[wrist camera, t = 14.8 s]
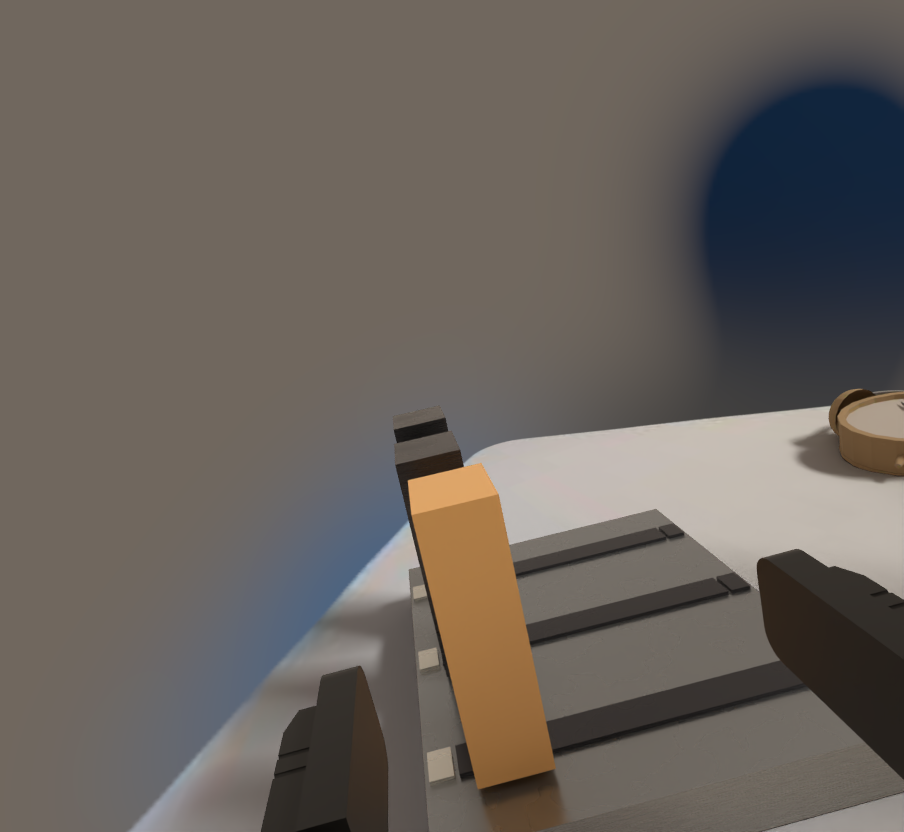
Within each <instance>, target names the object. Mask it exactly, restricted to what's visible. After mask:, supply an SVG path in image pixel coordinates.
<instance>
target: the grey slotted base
mask: <svg viewBox="0 0 904 832" xmlns="http://www.w3.org/2000/svg"><path fill="white" fill-rule="evenodd" d="M393 424H394V433H395V437H396V441H397V444H395V445H394V446H395V465H396V469H397V474H398V478H399V482H400V486H401V490H402V494H403V498H404V502H405V507H406V510H407V515H408V519H409V523H410V527H411V531H412V536H413V540H414V544H415V548H416V552H417V556H418V560H419V564H420V567H418V568H413V569H409V580H410V593H411V606H412V619H413V632H414V645H415V659H416V672H417V685H418V698H419V711H420V724H421V737H422V750H423V764H424V777H425V790H426V803H427V816H428V829H429V832H760V831H764V830H767V829H771V828H775V827H778V826H782V825H785V824H789V823H793V822H796V821H800V820H803V819H807V818H811V817H814V816H818V815H821V814H825V813H829V812H832V811H836V810H840V809H843V808H847V807H850V806H854V805H858V804H861V803H865V802H868V801H872V800H876V799H879V798H883V797H886V796H890V795H894V794H897V793H901V792H904V780H903V779H902V778H901V777H900V776H899V775H898V774H897V773H896V772H895V771H894V770H893V769H892V768H891V767H890V766H889V765H888V764H887V763H886V762H885V761H884V760H883V759H882V758H881V757H880V756H878V755H877V754H876V753H875V752H874V751H873V750H872V749H871V748H870V747H869V746H868V745H867V744H866V743H865V742H864V741H863V740H862V739H861V738H860V737H859V736H858V735H857V734H856V733H855V732H854V731H853V730H852V729H851V728H850V727H849V726H847V725H846V724H845V723H844V722H843V721H842V720H841V719H840V718H839V717H838V716H837V715H836V714H835V713H834V712H833V711H832V710H831V709H830V708H829V707H828V706H827V705H826V704H825V703H824V702H823V701H822V700H821V699H820V698H819V697H817V696H816V695H815V694H814V693H813V692H812V691H811V690H810V689H809V688H808V687H807V686H806V685H805V684H804V683H803V682H802V681H801V680H800V679H799V678H798V677H797V676H796V675H795V674H794V673H793V672H792V671H791V670H790V669H789V668H788V667H786V666H785V665H784V664H783V663H782V662H781V661H780V659H779V658H778V657H777V656H776V654H775V653H774V651H773V649H772V647H771V645H770V643H769V641H768V639H767V636H766V632H765V628H764V621H763V613H762V606H761V598H760V592H759V591H757V590H756V589H755V588H754V587H752V586H751V585H750V584H749V583H747V582H746V581H745V580H744V579H743V578H741V577H740V576H739V575H738V574H736V573H735V572H734V571H733V570H731V569H730V568H729V567H728V566H726V565H725V564H724V563H723V562H721V561H720V560H719V559H718V558H716V557H715V556H714V555H713V554H711V553H710V552H709V551H708V550H706V549H705V548H704V547H703V546H701V545H700V544H699V543H698V542H696V541H695V540H694V539H693V538H691V537H690V536H689V535H688V534H686V533H685V532H684V531H683V530H681V529H680V528H679V527H678V526H676V525H675V524H674V523H673V522H672V521H670V520H669V519H668V518H667V517H665V516H664V515H663V514H662V513H660V512H659V511H658V510H657V509H654V510H650V511H646V512H642V513H638V514H634V515H630V516H626V517H622V518H618V519H614V520H610V521H605V522H601V523H597V524H593V525H589V526H585V527H581V528H577V529H573V530H569V531H565V532H561V533H556V534H552V535H548V536H544V537H540V538H536V539H532V540H528V541H524V542H520V543H516V544H511V545H509V547H510V552H511V556H512V561H513V566H514V571H515V575H516V580H517V585H518V590H519V595H520V599H521V604H522V609H523V614H524V618H525V623H526V628H527V633H528V638H529V642H530V647H531V652H532V657H533V661H534V666H535V671H536V676H537V681H538V685H539V690H540V695H541V700H542V704H543V709H544V714H545V719H546V724H547V728H548V733H549V738H550V743H551V747H552V752H553V757H554V762H555V767H556V769H553V770H549V771H546V772H542V773H538V774H534V775H531V776H527V777H523V778H519V779H516V780H512V781H508V782H504V783H501V784H497V785H493V786H489V787H486V788H482V789H478V788H477V784H476V780H475V776H474V772H473V768H472V763H471V759H470V755H469V751H468V747H467V743H466V739H465V734H464V730H463V726H462V722H461V718H460V714H459V710H458V705H457V701H456V697H455V693H454V689H453V685H452V681H451V677H450V672H449V668H448V664H447V660H446V656H445V652H444V648H443V643H442V639H441V635H440V631H439V627H438V623H437V619H436V614H435V610H434V606H433V602H432V598H431V594H430V590H429V586H428V581H427V577H426V573H425V569H424V565H423V561H422V557H421V552H420V548H419V544H418V540H417V536H416V532H415V528H414V523H413V519H412V515H411V506H410V497H409V487H408V480H412V479H416V478H420V477H424V476H429V475H433V474H437V473H441V472H446V471H450V470H454V469H458V468H462V467H464V465H463V461H462V456H461V452H460V449H459V446H458V444H457V442H456V440H455V438H454V435H453V433H452V431H448V428H447V423H446V419H445V416H444V414H443V412H442V410H441V407H440V406H435V407H431V408H427V409H423V410H418V411H414V412H409V413H405V414H401V415H396V416H393Z"/></svg>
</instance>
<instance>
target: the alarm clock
mask: <svg viewBox="0 0 904 832" xmlns="http://www.w3.org/2000/svg"><path fill="white" fill-rule="evenodd" d="M829 422H830V426H831V428H832V429H833V431H834V432H835V433H836V434H837V435H839V438H840V446H839V450H840V452H841V455H842V457H843V458H844V459H845V460H846V461H848V462H849V463H851V464H852V465H853V466H856V467H858V468H861V469H864V470H868V471H871V472H877V473H884V474H890V475H898V476H904V390H893V391H879V392H871V391H869V390H864V389H854V390H849V391H846V392H844V393H842V394H841V395H840V396H839V397H838V398H836V399H835V401H834V402H833V404H832V405H831V408H830V411H829Z"/></svg>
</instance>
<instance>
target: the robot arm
mask: <svg viewBox="0 0 904 832" xmlns="http://www.w3.org/2000/svg"><path fill="white" fill-rule="evenodd" d="M757 576H758V583H759V591H760V598H761V606H762V613H763V621H764V628H765V632H766V636H767V639H768V641H769V643H770V645H771V647H772V649H773V651H774V653H775V654H776V656H777V657H778V658H779V659H780V661H781V662H782V663H783V664H784V665H785V666H786V667H788V668H789V669H790V670H791V671H792V672H793V673H794V674H795V675H796V676H797V677H798V678H799V679H800V680H801V681H802V682H803V683H804V684H805V685H806V686H807V687H808V688H809V689H810V690H811V691H812V692H813V693H814V694H815V695H816V696H817V697H819V698H820V699H821V700H822V701H823V702H824V703H825V704H826V705H827V706H828V707H829V708H830V709H831V710H832V711H833V712H834V713H835V714H836V715H837V716H838V717H839V718H840V719H841V720H842V721H843V722H844V723H845V724H846V725H847V726H849V727H850V728H851V729H852V730H853V731H854V732H855V733H856V734H857V735H858V736H859V737H860V738H861V739H862V740H863V741H864V742H865V743H866V744H867V745H868V746H869V747H870V748H871V749H872V750H873V751H874V752H875V753H876V754H877V755H878V756H880V757H881V758H882V759H883V760H884V761H885V762H886V763H887V764H888V765H889V766H890V767H891V768H892V769H893V770H894V771H895V772H896V773H897V774H898V775H899V776H900V777H901V778H902V779H903V780H904V600H903V599H901V598H900V597H898V596H897V595H895V594H893V593H888V591H887V589H885V588H884V587H882V586H880V585H879V584H877V583H876V582H874V581H872V580H871V579H869V578H867V577H866V576H864V575H861V574H858V573H855V572H852V571H848V570H845V569H842V568H839V567H836V566H833V567H829V568H828V567H827V566H825V565H824V564H822V563H821V562H819V561H818V560H816V559H815V558H813V557H811V556H810V555H808V554H807V553H805V552H804V551H802V550H799V549H794V550H791V551H787V552H783V553H779V554H776V555H772V556H768V557H765V558H761V559H760V560H759V561H758V563H757ZM278 756H279V760H277V764H276V768H275V772H274V777H275V779H273V781H272V785H271V790H270V794H269V798H268V803H267V807H266V811H265V816H264V820H263V825H262V829H261V832H388V761H387V753H386V747H385V742H384V737H383V733H382V730H381V727H380V723H379V720H378V717H377V713H376V710H375V707H374V704H373V700H372V697H371V694H370V690H369V687H368V684H367V681H366V677H365V674H364V672H363V669H362V668H361V666H356V667H352V668H349V669H345V670H341V671H338V672H334V673H330V674H326V675H323V676H322V678H321V681H320V687H319V693H318V699H317V705H316V706H313V707H310V708H306V709H302V710H299V711H298V713H297V714H296V715H295V717H294V718H293V720H292V721H291V723H290V724H289V726H288V727H287V729H286V730H285V732H284V733H283V738H282V742H281V746H280V751H279V755H278Z"/></svg>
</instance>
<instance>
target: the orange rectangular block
mask: <svg viewBox="0 0 904 832" xmlns="http://www.w3.org/2000/svg"><path fill="white" fill-rule="evenodd" d="M408 487H409V497H410V506H411V515H412V519H413V523H414V528H415V532H416V536H417V540H418V544H419V548H420V552H421V557H422V561H423V565H424V569H425V573H426V577H427V581H428V586H429V590H430V594H431V598H432V602H433V606H434V610H435V614H436V619H437V623H438V627H439V631H440V635H441V639H442V643H443V648H444V652H445V656H446V660H447V664H448V668H449V672H450V677H451V681H452V685H453V689H454V693H455V697H456V701H457V705H458V710H459V714H460V718H461V722H462V726H463V730H464V734H465V739H466V743H467V747H468V751H469V755H470V759H471V763H472V768H473V772H474V776H475V780H476V784H477V788H478V789H482V788H486V787H489V786H493V785H497V784H501V783H504V782H508V781H512V780H516V779H519V778H523V777H527V776H531V775H534V774H538V773H542V772H546V771H549V770H553V769H556V767H555V762H554V757H553V752H552V747H551V743H550V738H549V733H548V728H547V724H546V719H545V714H544V709H543V704H542V700H541V695H540V690H539V685H538V681H537V676H536V671H535V666H534V661H533V657H532V652H531V647H530V642H529V638H528V633H527V628H526V623H525V618H524V614H523V609H522V604H521V599H520V595H519V590H518V585H517V580H516V575H515V571H514V566H513V561H512V556H511V552H510V547H509V542H508V537H507V532H506V528H505V523H504V518H503V513H502V509H501V504H500V499H499V494H498V492H497V491H496V489H495V487H494V485H493V483H492V482H491V480H490V478H489V476H488V474H487V472H486V471H485V469H484V467H483V465H482V463H479V464H475V465H471V466H467V467H462V468H458V469H454V470H450V471H446V472H441V473H437V474H433V475H429V476H424V477H420V478H416V479H412V480H408Z"/></svg>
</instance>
